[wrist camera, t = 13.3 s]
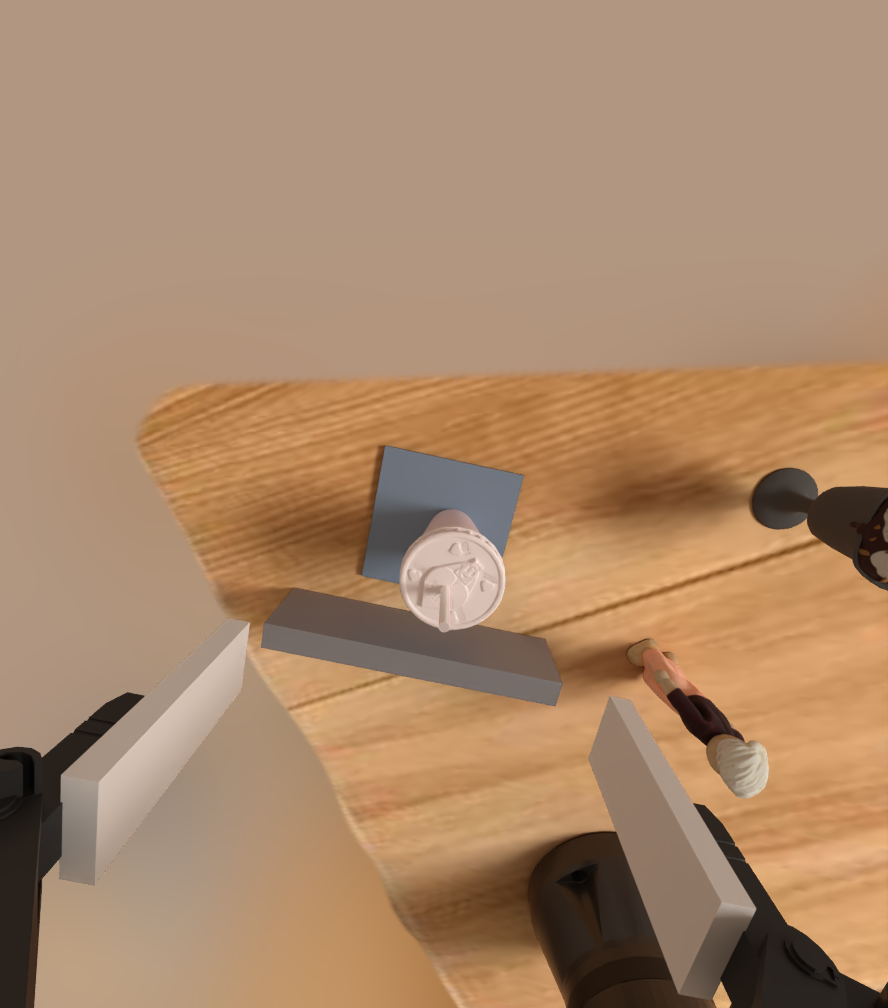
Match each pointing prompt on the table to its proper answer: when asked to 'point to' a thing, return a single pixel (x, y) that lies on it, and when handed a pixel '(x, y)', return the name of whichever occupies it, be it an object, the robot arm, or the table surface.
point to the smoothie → (452, 574)
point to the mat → (433, 504)
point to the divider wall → (412, 646)
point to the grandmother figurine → (704, 721)
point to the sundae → (830, 517)
